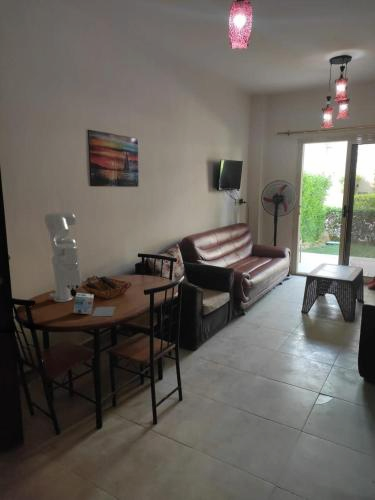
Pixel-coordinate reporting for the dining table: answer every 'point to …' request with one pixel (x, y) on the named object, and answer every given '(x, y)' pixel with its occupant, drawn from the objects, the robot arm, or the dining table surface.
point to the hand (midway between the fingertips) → (73, 295)
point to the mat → (103, 311)
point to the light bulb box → (83, 303)
